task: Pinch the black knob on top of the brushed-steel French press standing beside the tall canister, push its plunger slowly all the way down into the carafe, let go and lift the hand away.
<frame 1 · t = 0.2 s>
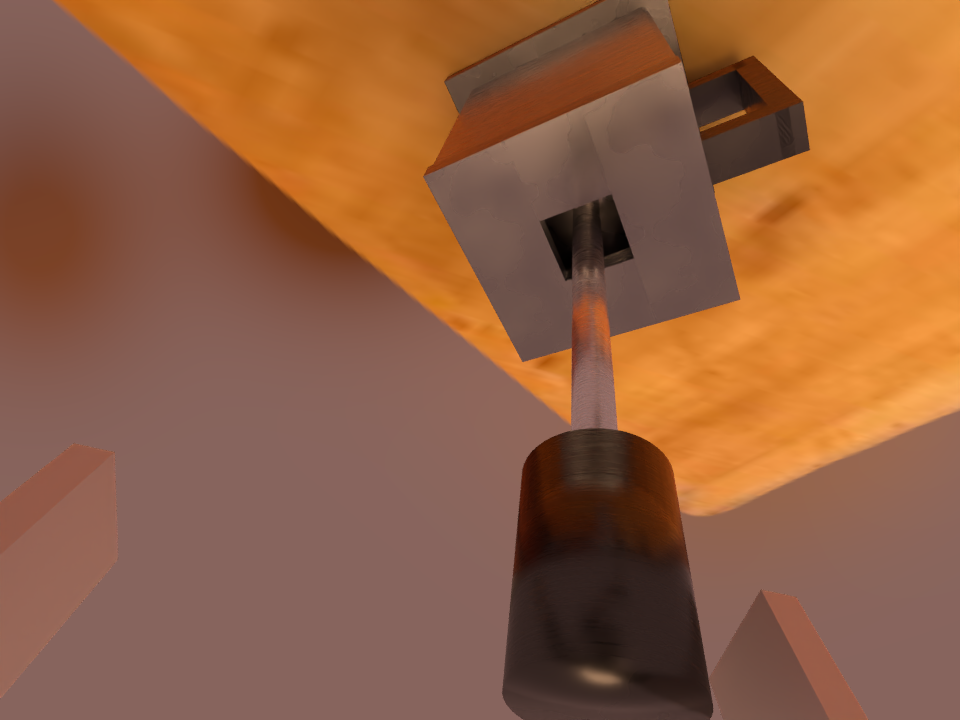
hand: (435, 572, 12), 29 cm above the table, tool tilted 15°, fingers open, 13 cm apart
plunger: (590, 336, 19), point 20 cm above the table, slide at 0.0 cm
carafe: (583, 133, 34), on the table
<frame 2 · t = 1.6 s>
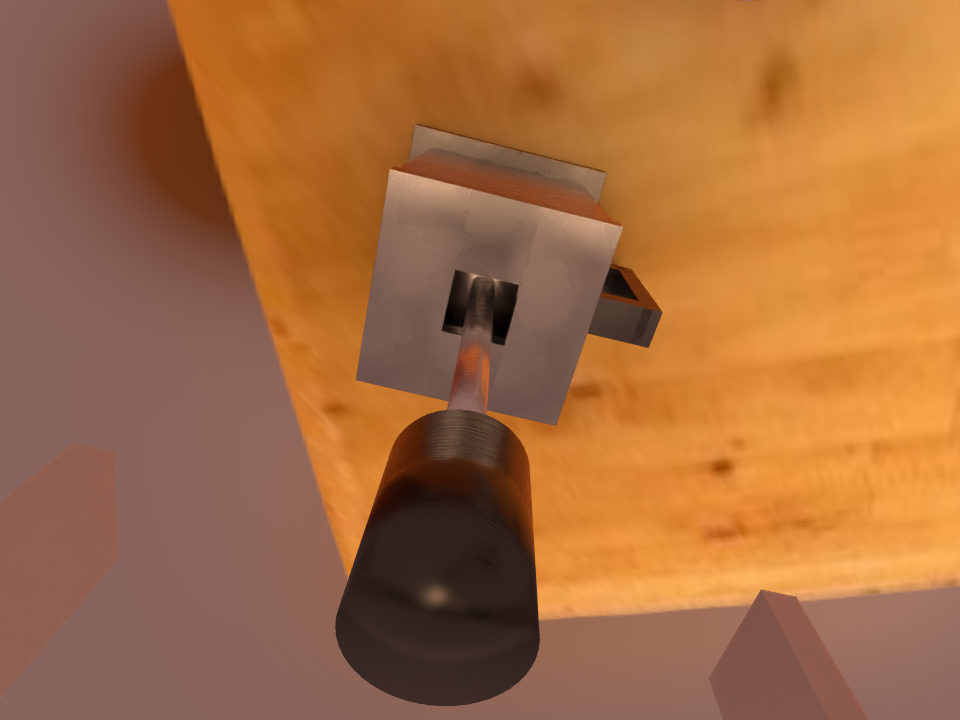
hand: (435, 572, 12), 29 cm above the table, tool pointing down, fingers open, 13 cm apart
plunger: (472, 371, 20), point 20 cm above the table, slide at 0.0 cm
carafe: (489, 241, 38), on the table
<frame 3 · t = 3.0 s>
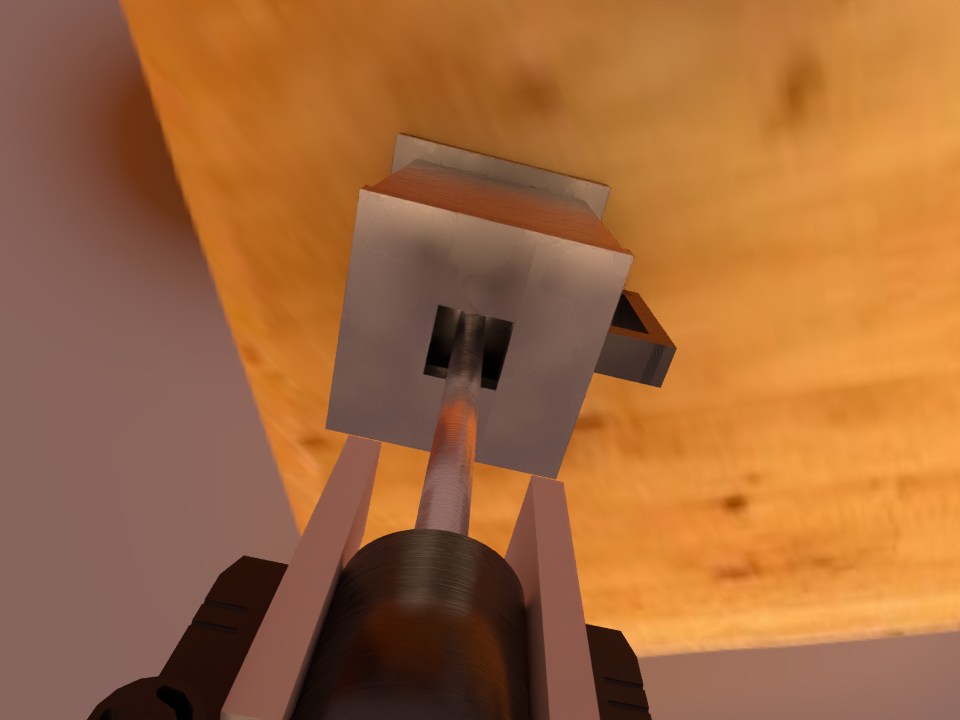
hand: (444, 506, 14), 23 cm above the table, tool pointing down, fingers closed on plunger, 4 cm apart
plunger: (454, 439, 16), point 20 cm above the table, slide at 0.0 cm, touching gripper
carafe: (480, 261, 35), on the table
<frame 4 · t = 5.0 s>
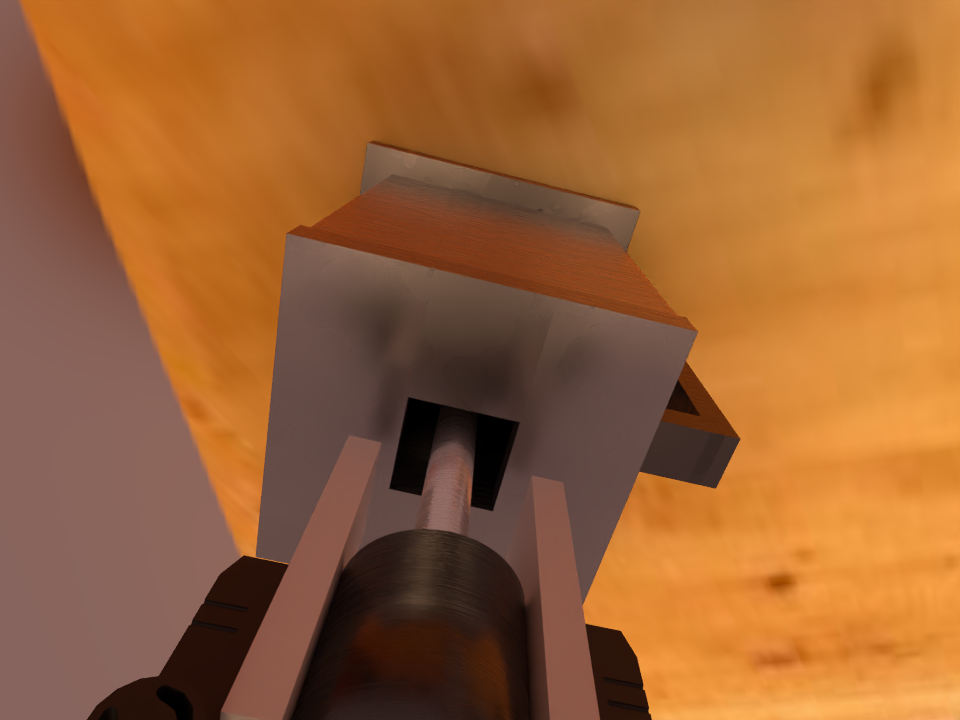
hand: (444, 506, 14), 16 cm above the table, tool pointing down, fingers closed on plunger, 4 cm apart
plunger: (454, 439, 16), point 13 cm above the table, slide at 7.5 cm, touching gripper
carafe: (475, 300, 28), on the table
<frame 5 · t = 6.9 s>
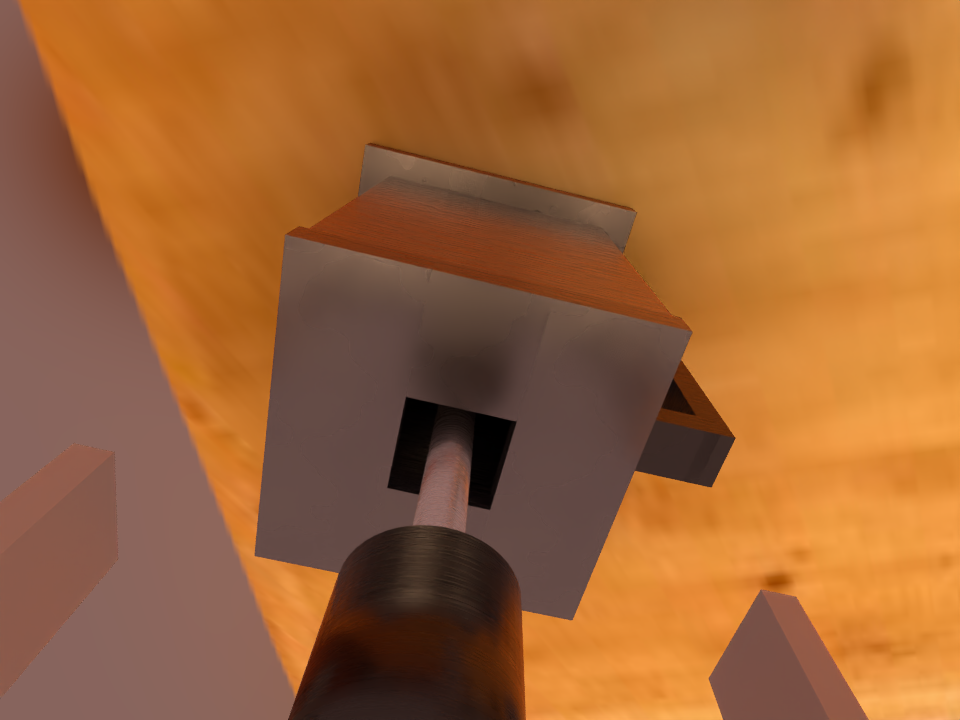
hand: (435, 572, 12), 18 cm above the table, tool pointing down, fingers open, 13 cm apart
plunger: (452, 438, 17), point 13 cm above the table, slide at 7.5 cm
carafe: (472, 301, 28), on the table
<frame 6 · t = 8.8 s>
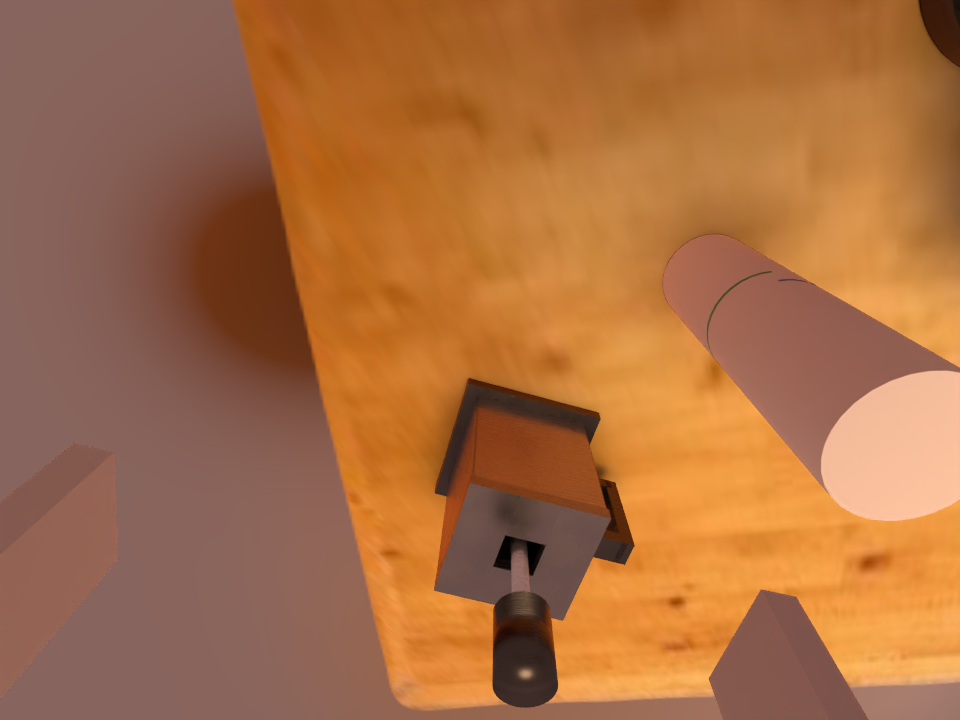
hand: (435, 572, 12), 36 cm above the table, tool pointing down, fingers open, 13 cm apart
plunger: (518, 547, 42), point 13 cm above the table, slide at 7.5 cm
cylindrical container: (707, 278, 46), on the table
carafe: (514, 451, 53), on the table
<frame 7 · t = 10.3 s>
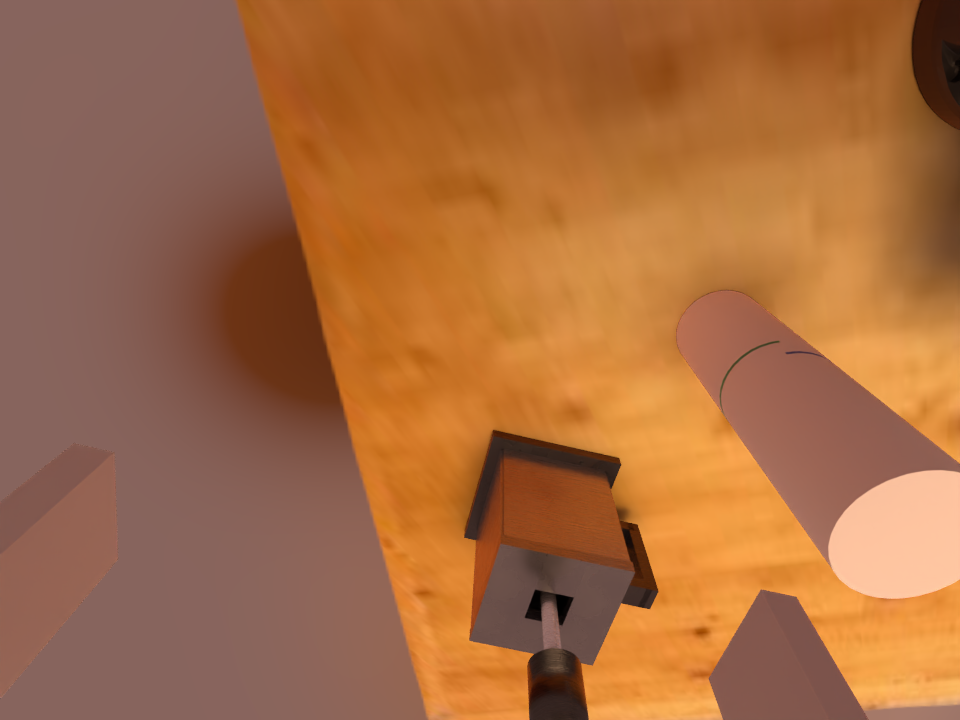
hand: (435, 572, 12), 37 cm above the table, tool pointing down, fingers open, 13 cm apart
plunger: (548, 598, 44), point 13 cm above the table, slide at 7.5 cm
cylindrical container: (719, 330, 48), on the table
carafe: (539, 495, 56), on the table
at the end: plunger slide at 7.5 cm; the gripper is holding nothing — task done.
